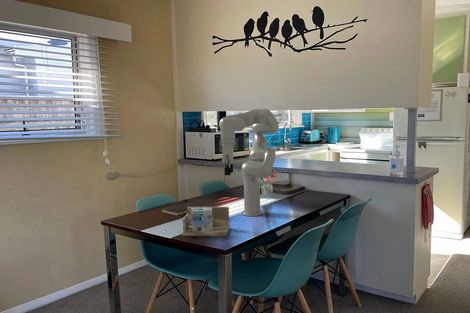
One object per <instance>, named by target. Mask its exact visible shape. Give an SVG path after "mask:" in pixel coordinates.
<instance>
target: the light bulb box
mask: <svg viewBox="0 0 470 313" xmlns="http://www.w3.org/2000/svg"><path fill="white" fill-rule="evenodd" d="M204 207H205V208H192V231H193V232H195V231H212V230H213V219H212V208H211V207H212V206H204Z"/></svg>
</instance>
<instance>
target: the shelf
mask: <svg viewBox="0 0 470 313" xmlns="http://www.w3.org/2000/svg"><path fill="white" fill-rule="evenodd" d="M205 207H206V206H204V207H187V211H188V213H185V214H186V215H185V216H183V218H182V233H181V235H182V237H226V236H227V234H228V232H229V230H230V207H229V206H210V207H211V208H212V219H213V230H212V231H195V232H193V231H192V208H205Z"/></svg>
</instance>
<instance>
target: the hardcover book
mask: <svg viewBox="0 0 470 313" xmlns="http://www.w3.org/2000/svg"><path fill="white" fill-rule="evenodd" d="M187 207H206V205H203V204H200V203H193V202H186V203H181V204H177V205H176V204H175V205H173V206H168V207H165V208H164V207H163V208H161V209H160V212H162V213H165V214H169V215H174V216H180V215H183V214H188V211H187Z"/></svg>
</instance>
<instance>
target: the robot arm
mask: <svg viewBox="0 0 470 313" xmlns="http://www.w3.org/2000/svg"><path fill="white" fill-rule="evenodd" d="M218 123H219V126H218V127H219V129H220V145H221V146H222V151H221V154H222V155H221V158H222V161H221V162H222V164H224V176H231V175H232V173H234V165H233V162H234V146H235V145H236V132H242V131H243V130H244V129H246V128H249V127H251V131H252V136H253V143H252V145H251V149H250V151H249V155H248V157H249V158H248V159H249V160H248V161H244V163H242V165H241V173H242V178H243V179H242V180H243V197H244V198H243V200H244V201H243V203H244V204H243V207H244V210H243V211H242V212H241V215H242V216H246V217H258V216H262V215H263V214H264V211H263V210H261V186H260V185H261V184H260V182H259V178H260V179H267V178H270V176H271V173H272V171H273V167H274V164H275V162H276V161H275V160H276V156H277V155H276V151H275V149H274V148H273V147H271V146H268V140H267V138H266V137H265V134H268V135H269V134H270V135H272V134H273V135H274V134H276V133H278V132H279V130H280V129H279V128H280V125H279V122H278V120H277V118H276V117H275V115H274V114H273V113H272V111H271V110H270V109H268V108H260V109H259V108H258V109H257V108H256V109H251V110H248V111H245V112H240V113H236V114H232V115H227V116H225V117H224V116H223V117H222V118H221V119H220V120H219V122H218Z"/></svg>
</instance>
